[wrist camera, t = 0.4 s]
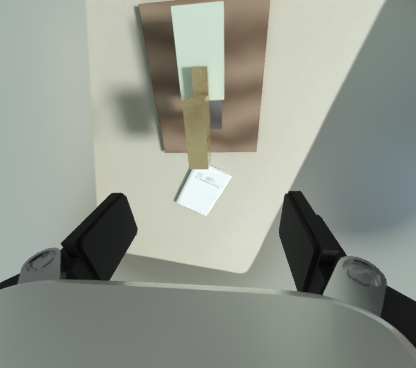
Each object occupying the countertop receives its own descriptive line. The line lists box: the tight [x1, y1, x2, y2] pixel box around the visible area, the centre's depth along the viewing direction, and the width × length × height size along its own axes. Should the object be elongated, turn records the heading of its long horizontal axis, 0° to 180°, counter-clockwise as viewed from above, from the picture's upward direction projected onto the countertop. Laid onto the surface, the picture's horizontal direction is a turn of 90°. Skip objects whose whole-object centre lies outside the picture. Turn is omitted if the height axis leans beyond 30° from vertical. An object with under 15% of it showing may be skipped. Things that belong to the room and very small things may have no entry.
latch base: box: [138, 0, 270, 153], centre depth 29 cm, size 22×18×4 cm
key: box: [182, 66, 212, 169], centre depth 26 cm, size 11×2×13 cm, turn 3°
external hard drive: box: [176, 164, 232, 215], centre depth 41 cm, size 2×8×12 cm
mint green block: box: [171, 1, 224, 101], centre depth 24 cm, size 10×6×3 cm, turn 3°
